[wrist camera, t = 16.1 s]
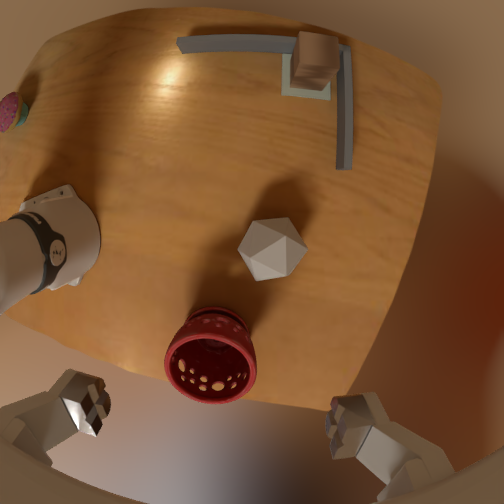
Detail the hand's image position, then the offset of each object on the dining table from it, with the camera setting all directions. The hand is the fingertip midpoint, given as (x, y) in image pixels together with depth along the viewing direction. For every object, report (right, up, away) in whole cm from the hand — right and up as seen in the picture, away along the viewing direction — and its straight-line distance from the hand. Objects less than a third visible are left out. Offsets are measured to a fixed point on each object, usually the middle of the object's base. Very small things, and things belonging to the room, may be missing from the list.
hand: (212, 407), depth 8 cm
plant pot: (-5, -8, +39) cm, 40 cm away
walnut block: (+10, +32, +27) cm, 44 cm away
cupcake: (-47, +34, +28) cm, 64 cm away
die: (+4, +7, +35) cm, 36 cm away
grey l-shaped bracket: (+2, +28, +29) cm, 40 cm away
